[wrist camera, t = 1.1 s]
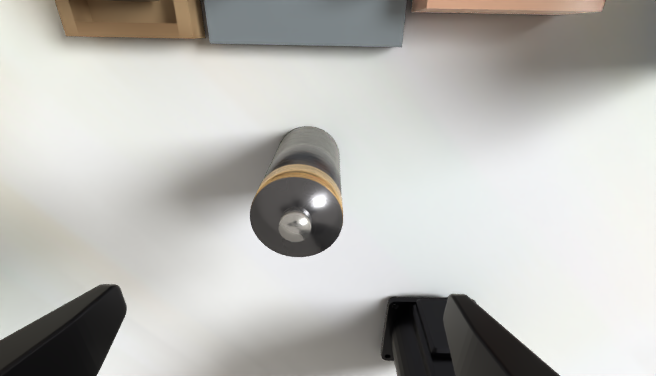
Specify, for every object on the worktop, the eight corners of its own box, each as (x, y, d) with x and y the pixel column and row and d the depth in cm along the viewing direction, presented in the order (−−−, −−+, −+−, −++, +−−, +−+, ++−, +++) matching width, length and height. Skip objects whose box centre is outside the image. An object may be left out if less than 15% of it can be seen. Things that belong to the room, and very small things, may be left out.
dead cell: (338, 184, 19) (341, 268, 13) (279, 183, 19) (250, 266, 13) (340, 126, 18) (345, 185, 11) (276, 125, 18) (240, 183, 11)
